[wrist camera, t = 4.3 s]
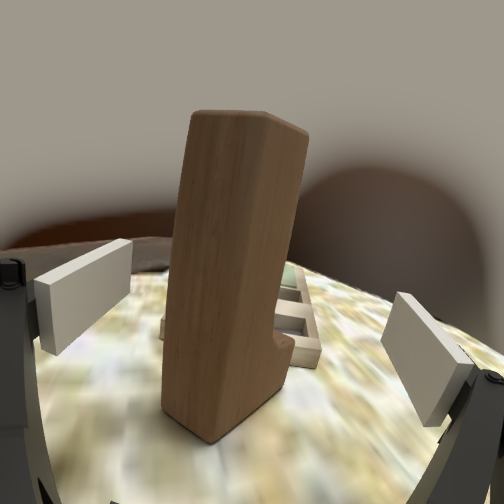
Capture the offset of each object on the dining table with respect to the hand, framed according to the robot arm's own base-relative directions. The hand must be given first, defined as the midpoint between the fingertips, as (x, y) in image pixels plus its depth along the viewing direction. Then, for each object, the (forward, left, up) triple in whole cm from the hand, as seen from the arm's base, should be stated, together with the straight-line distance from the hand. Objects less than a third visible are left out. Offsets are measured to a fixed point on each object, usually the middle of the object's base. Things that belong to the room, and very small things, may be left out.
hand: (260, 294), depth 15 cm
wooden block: (-1, +4, -10) cm, 11 cm away
